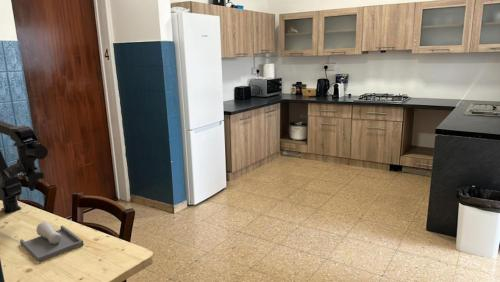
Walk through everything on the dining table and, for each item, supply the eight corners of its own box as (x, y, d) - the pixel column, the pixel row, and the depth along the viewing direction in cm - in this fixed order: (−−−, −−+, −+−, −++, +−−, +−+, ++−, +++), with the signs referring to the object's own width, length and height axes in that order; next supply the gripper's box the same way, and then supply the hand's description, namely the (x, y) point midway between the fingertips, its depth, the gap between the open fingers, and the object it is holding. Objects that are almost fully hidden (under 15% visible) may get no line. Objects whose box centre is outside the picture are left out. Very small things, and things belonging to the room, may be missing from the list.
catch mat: (20, 244, 139) (19, 239, 139) (63, 229, 150) (62, 225, 150) (39, 262, 127) (38, 258, 127) (83, 245, 138) (83, 240, 138)
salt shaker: (39, 217, 144) (54, 230, 136) (52, 221, 148) (67, 234, 140) (31, 231, 143) (45, 245, 135) (44, 235, 147) (58, 248, 139)
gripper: (-3, 156, 156) (3, 190, 160) (11, 165, 144) (18, 202, 148) (26, 151, 164) (31, 183, 168) (42, 159, 152) (47, 194, 156)
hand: (31, 190), depth 160 cm, fingers closed
